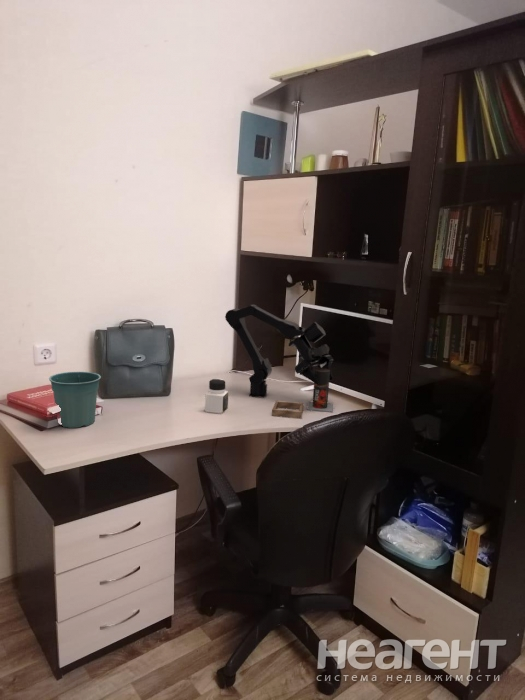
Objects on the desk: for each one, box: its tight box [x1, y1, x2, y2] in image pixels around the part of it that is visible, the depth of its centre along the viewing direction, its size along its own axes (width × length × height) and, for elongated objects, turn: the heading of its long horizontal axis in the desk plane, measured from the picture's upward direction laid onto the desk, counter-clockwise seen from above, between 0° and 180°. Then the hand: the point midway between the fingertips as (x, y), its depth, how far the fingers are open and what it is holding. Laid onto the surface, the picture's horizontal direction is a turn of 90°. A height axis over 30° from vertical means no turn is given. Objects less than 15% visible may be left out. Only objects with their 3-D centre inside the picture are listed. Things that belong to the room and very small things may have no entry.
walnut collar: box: [271, 400, 304, 419], centre depth 191 cm, size 11×11×2 cm
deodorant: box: [312, 367, 330, 409], centre depth 198 cm, size 6×6×15 cm
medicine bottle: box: [204, 378, 229, 415], centre depth 189 cm, size 7×7×12 cm
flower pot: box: [48, 371, 102, 429], centre depth 170 cm, size 16×16×16 cm
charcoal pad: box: [306, 401, 334, 413], centre depth 199 cm, size 10×10×1 cm
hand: (325, 381), depth 196 cm, fingers open, 9 cm apart
